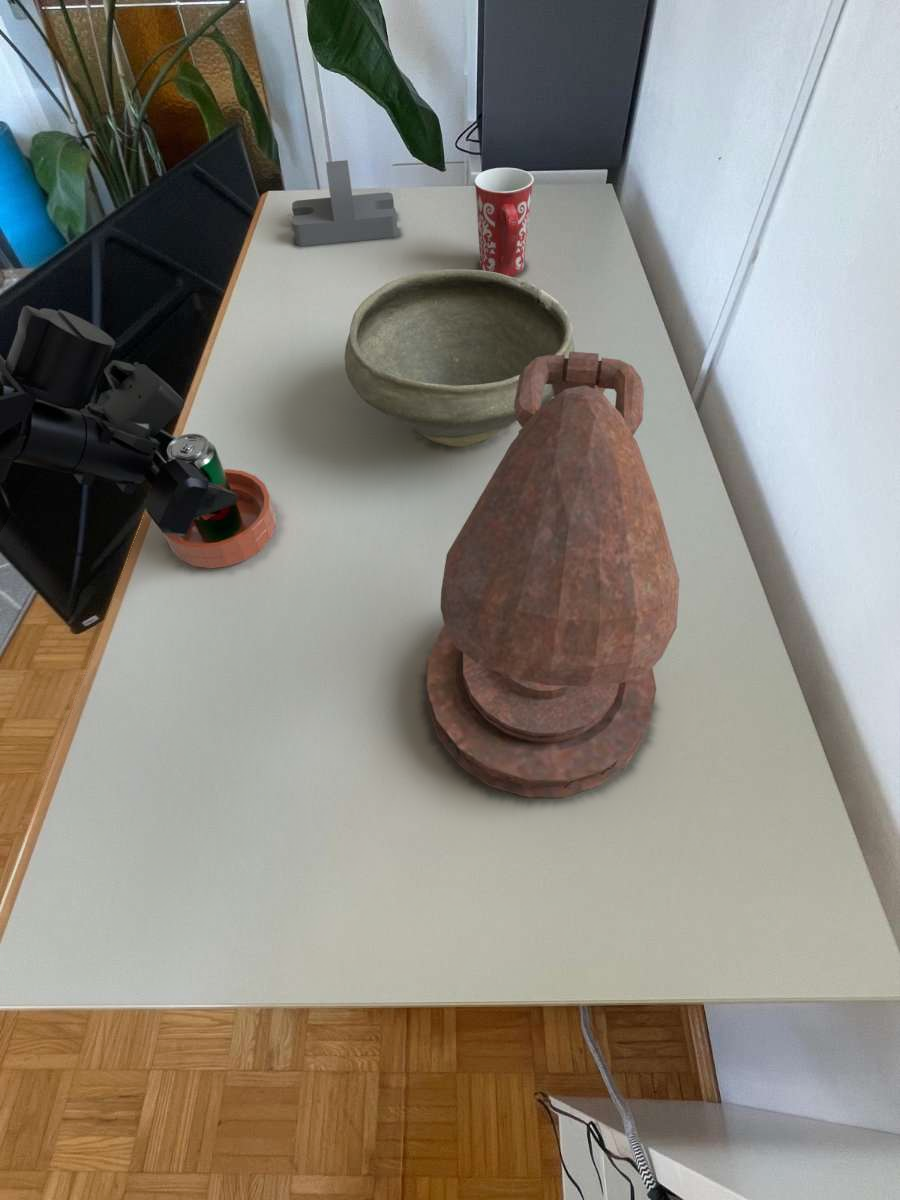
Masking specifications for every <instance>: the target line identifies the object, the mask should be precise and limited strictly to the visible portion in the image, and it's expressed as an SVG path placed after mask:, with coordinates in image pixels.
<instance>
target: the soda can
mask: <svg viewBox="0 0 900 1200" xmlns="http://www.w3.org/2000/svg"><path fill="white" fill-rule="evenodd" d="M166 453H167V457H166V462H169V461H171V460H173V459H178V460H182V461H185V462H187V463H189V464H191V465H193V464H195V465H196V466H197V467H198V468H199V469H200V470H201V471H202V472H203V473H204V475H205V476H206V477H207V479H208V481H209V482H210V483H213V484H215V485H218V486H220V487H223V488H225V489H228V490H230V491H231V488H230V485H229V483H228V480H227V477H226V475H225V472H224V470H223V469H224V467H223V464H222V462H221V459H220V457H219V453H218V451H217V449H216V447H215V445H214V444H213V443H212V442H211V441H209V439H208V438H207V437H206V436H205V435H203V434H200V433H186V434H181V435H180V436H177V437H176V438H175V439H174V440H173V441H171V442H170V443H169V445H168V446H167V449H166ZM193 521H194V523H195V525H196V527H197V530H198V532H199V534H200V535H201V536H202V537H203V538H205V539H208V540H212V541H222V540H226V539H229V538H231V537H232V536H234V535H235V534H236V533H237V532H238V530H239V529H240V527H241V525H242V517H241V514H240V512H239V509H238V506H237V504H235V505H232V506H229V507H226V508H223V509H220V510H217V511H215V512H212V513H209V514H206V515H203V516H201V517H199V518H197V519H195V520H193Z"/></svg>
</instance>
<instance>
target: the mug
mask: <svg viewBox="0 0 900 1200" xmlns="http://www.w3.org/2000/svg"><path fill="white" fill-rule="evenodd" d="M534 183H535V178H534V176H533V175H532V174H531V173H530V172H528V171H526V170H523V169H520V168H515V167H495V168H489V169H486V170H483V171H481V172H480V173H478V174H477V175H476V176H475V177H474V180H473V184H474V187H475V197H476V198H475V201H476V215H477V235H478V252H479V268H480V270H483V271H490V272H496V273H500V274H503V275H507V276H510V277H514V276H516V275H518V274H520V273H521V272H522V271H523V270H524V266H525V258H526V250H527V249H526V248H527V239H528V231H529V219H530V210H531V202H532V201H531V200H532V193H533V186H534Z"/></svg>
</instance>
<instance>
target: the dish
mask: <svg viewBox="0 0 900 1200" xmlns="http://www.w3.org/2000/svg"><path fill="white" fill-rule="evenodd" d="M223 470H224V472H225V475H226V477H227V480H228V483H229V485H230V488H231V491H232V492H234V493H236V494H238V495H239V498H238V500H237V502H236V504H237V506H238V509H239V512H240V514H241V517H242V525H241V527H240V529H239V530H238V532H237V533H236V534H235V535H234V536H232V537H231V538H229V539H226V540H222V541H212V540H208V539H205V538H203V537H202V536H201V535H200V534H199V532H198V530H197V527H196V525H195V523H194V521H193V522H192V524H191V526H190V528H189V530H188V532H187V534H186V535H183V536H177V535H171V534H164V533H163V532H162V534H163V536H164V537H165V540H166V543H167V544H168V545H169V547H170V549H171V551H172V552H173V553H174V555H175V556H177V558H178V559H179V560H181V561H182V562H185V563H187V564H188V565H191V566H193V567H199V568H206V569H214V568H222V567H223V568H224V567H229V566H233V565H235V564H239V563H241V562H243V561H246V560H248V559H249V558H251V557H252V556H254V555H255V554H257V553H259V552H260V551H261V550H262V549H263V548H264V546H265V545H266V544H268V542H269V541H270V540H271V538H272V536H273V534H274V532H275V529H276V527H277V514H276V511H275V508H274V504H273V501H272V499H271V498H272V497H271V495H270V493H269V491H268V489H267V485H266V484H265V483H264V482H263V481H262V480H261V479H260V478H258V477H257V476H256V475H254V474H252V473H248V472H247V471H243V470H239V469H229V468H223Z"/></svg>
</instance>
